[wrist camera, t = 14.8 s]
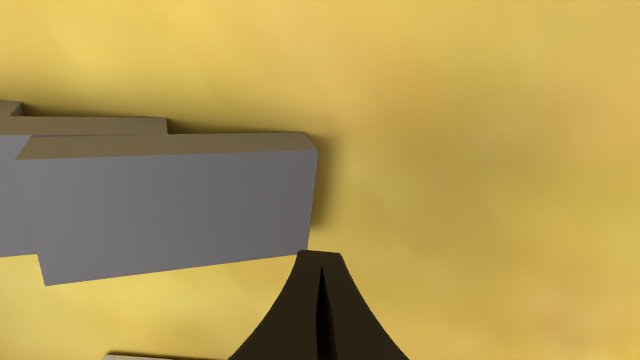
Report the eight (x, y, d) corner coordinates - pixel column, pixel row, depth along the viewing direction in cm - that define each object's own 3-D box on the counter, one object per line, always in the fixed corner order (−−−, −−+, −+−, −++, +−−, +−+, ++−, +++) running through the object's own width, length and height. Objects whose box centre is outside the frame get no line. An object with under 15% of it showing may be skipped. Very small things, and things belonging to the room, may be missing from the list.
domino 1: (172, 240, 18) (-130, 269, 14) (170, 217, 19) (-100, 237, 16) (167, 134, 16) (-190, 136, 12) (166, 117, 17) (-149, 114, 14)
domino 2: (306, 253, 18) (45, 286, 15) (294, 228, 20) (56, 252, 16) (318, 150, 16) (14, 159, 12) (303, 131, 18) (31, 136, 14)
